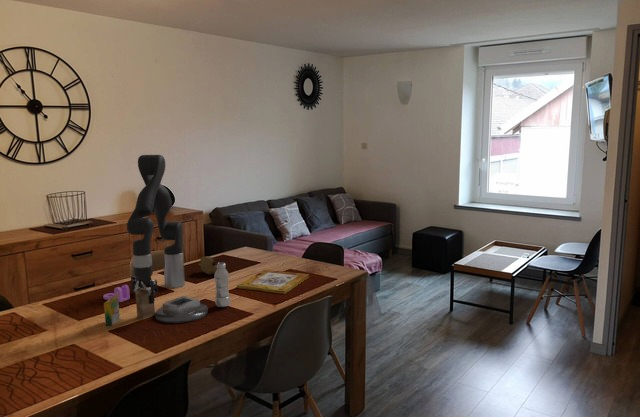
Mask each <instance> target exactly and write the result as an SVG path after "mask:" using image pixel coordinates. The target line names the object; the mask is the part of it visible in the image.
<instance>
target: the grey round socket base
mask: <svg viewBox="0 0 640 417" xmlns="http://www.w3.org/2000/svg"><path fill="white" fill-rule="evenodd" d="M208 312H209V309H208V306H207V305H206V304H204V303H202V302H201V299H199V298H194V297H191V296H190V297H189V296H186V295H181V296H180V297H176V298H174V299H172V300H169V301H166V302H163V303H162V306H161V307H159V308H158V309H157V310H155V315H154V316H155V318H154V319H156V320H157V321H158V322H161V323H165V324H185V323H191V322H194V321H198V320H200V319H202V318H204V317H206V315H208Z"/></svg>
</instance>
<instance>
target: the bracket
mask: <svg viewBox="0 0 640 417" xmlns="http://www.w3.org/2000/svg"><path fill="white" fill-rule="evenodd" d="M117 293H118V303H123V302H125V301H128V300H130V299H131V296H130V295H131V294H130V286H129V285H128V284H123V285H121V286H117V287H114V290H113V292H111V293H110V292H109V293H105V294H103V298H102V299H104V300H106V301H108V300H109V299H110V298H112V297H113V296H115V295H116V294H117ZM114 298H116V297H114Z"/></svg>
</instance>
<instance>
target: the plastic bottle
mask: <svg viewBox="0 0 640 417" xmlns="http://www.w3.org/2000/svg"><path fill="white" fill-rule="evenodd" d="M216 265H217V268H218V269H217V270H216V272H215V274H213V276H214V277H213V278H214V283H215V290H216V291H215V302H214V303H215V305H216V307H218V308H226V307H228V306H229V305H230V302H231V298H230V294H229V276H230V275H229V274H230V273H229V272H228V270H227V268H226V262H224V261H223V262H222V261H221V262H218V263H217V264H216Z"/></svg>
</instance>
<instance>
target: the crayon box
mask: <svg viewBox="0 0 640 417" xmlns="http://www.w3.org/2000/svg"><path fill="white" fill-rule="evenodd" d="M114 297H116V298H114ZM103 309H104V321H105V323H104V324H105V326H106V327H113V326H114V325H115V324H116V323H118V322H119V321H120V320H121V318H120V315H121V314H120V306H119V302H118V293H117V294H116V295H115V296H113V297H112V298H110V299H109V300H106V301H105V302H103Z"/></svg>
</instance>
